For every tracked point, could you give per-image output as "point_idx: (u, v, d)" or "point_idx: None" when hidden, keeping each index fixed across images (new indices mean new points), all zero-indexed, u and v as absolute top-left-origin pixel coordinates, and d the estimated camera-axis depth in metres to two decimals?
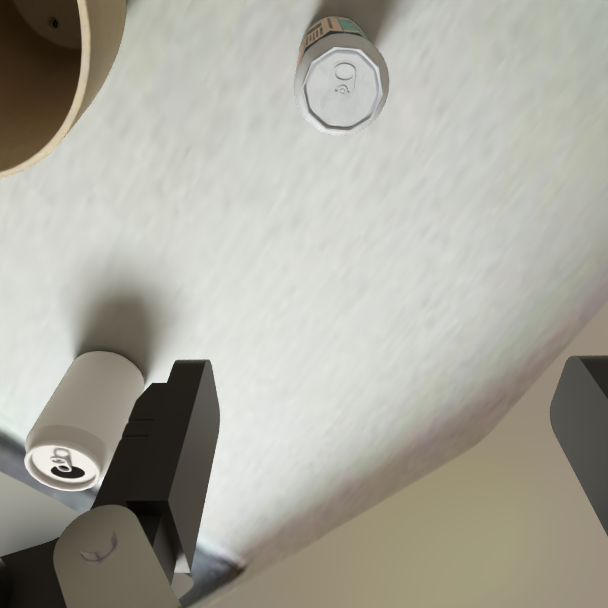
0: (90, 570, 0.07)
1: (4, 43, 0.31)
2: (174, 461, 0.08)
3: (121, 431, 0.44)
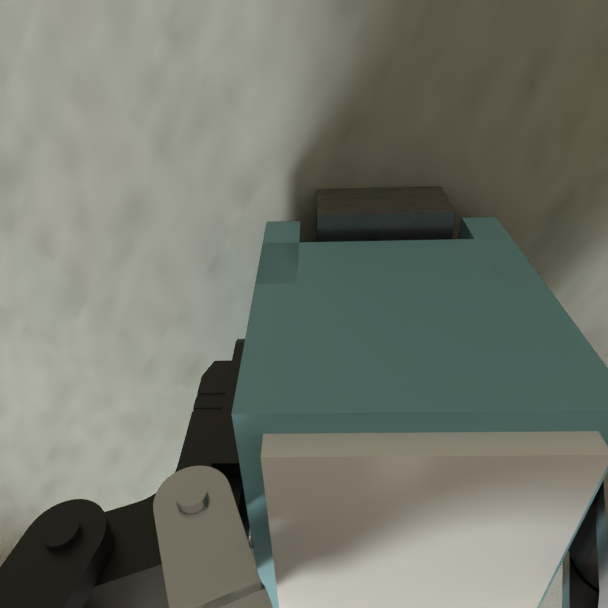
0: (190, 522, 0.07)
1: None
2: None
3: None
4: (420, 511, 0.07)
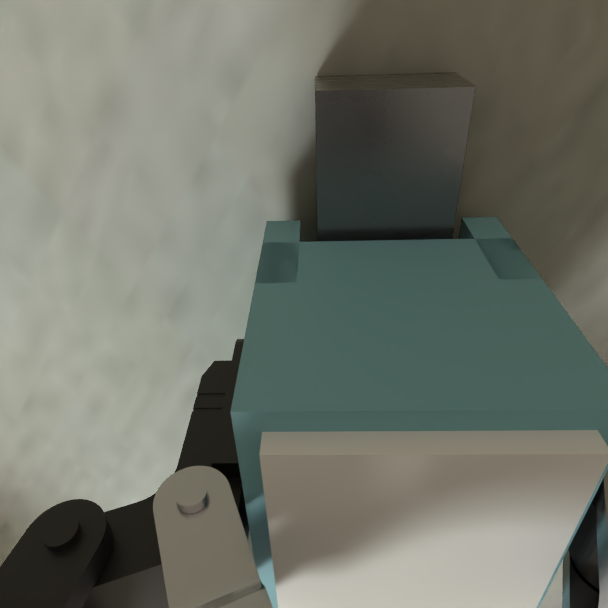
0: (189, 523, 0.07)
1: None
2: None
3: None
4: (420, 509, 0.07)
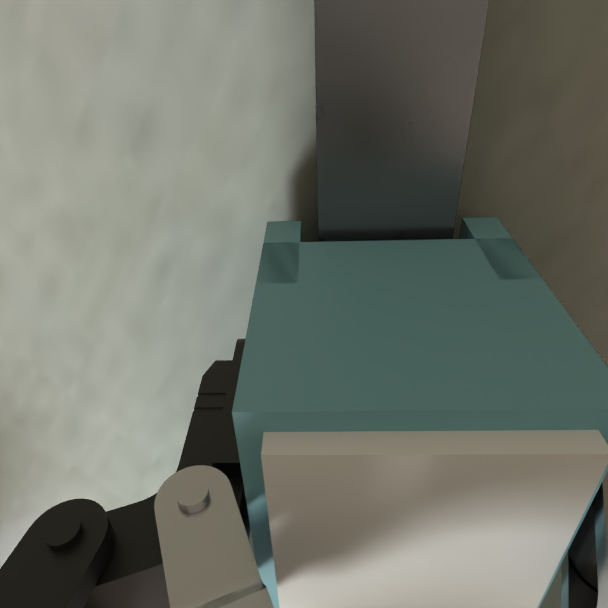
0: (191, 522, 0.07)
1: None
2: None
3: None
4: (420, 509, 0.07)
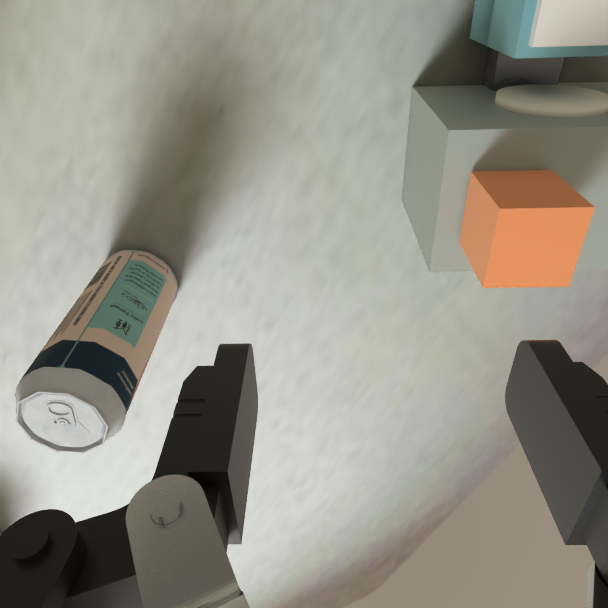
0: (162, 533, 0.07)
1: None
2: (229, 436, 0.09)
3: None
4: None
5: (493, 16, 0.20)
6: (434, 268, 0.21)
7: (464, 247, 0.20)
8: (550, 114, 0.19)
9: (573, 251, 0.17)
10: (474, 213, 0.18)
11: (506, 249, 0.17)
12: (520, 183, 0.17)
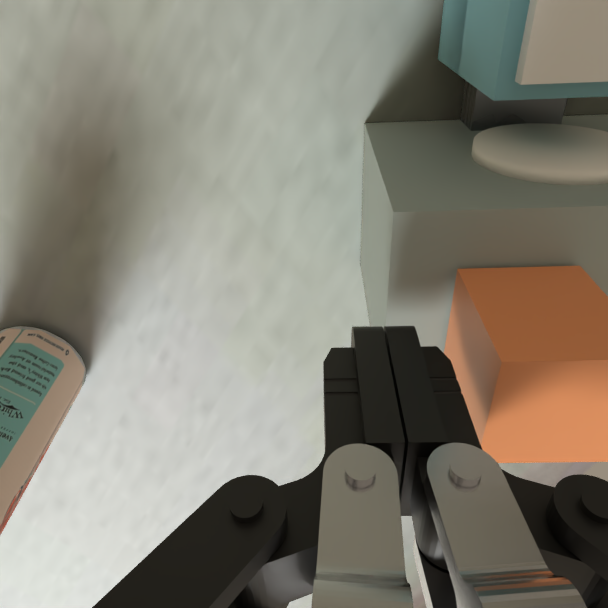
0: (365, 498, 0.08)
1: None
2: (394, 411, 0.09)
3: None
4: None
5: (465, 32, 0.13)
6: None
7: None
8: (551, 180, 0.13)
9: None
10: (463, 336, 0.12)
11: (513, 415, 0.10)
12: (533, 297, 0.11)
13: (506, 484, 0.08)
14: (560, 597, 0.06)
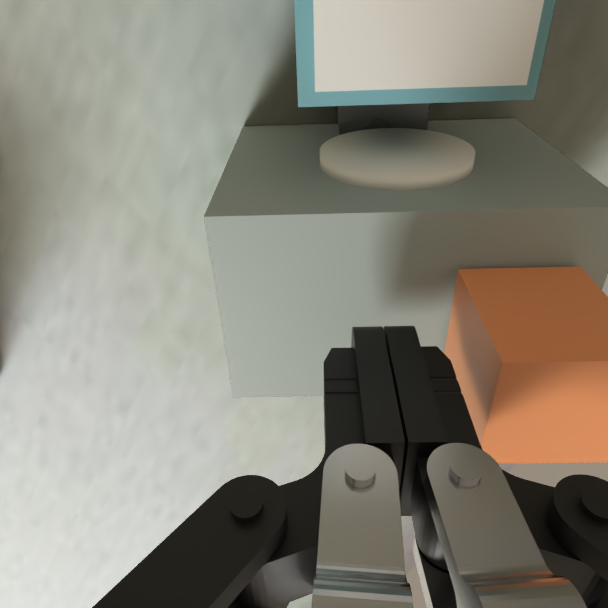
0: (365, 497, 0.08)
1: None
2: (394, 410, 0.09)
3: None
4: None
5: None
6: (238, 393, 0.15)
7: None
8: (374, 185, 0.13)
9: None
10: (463, 336, 0.12)
11: (514, 416, 0.10)
12: (534, 298, 0.11)
13: (506, 484, 0.08)
14: (560, 597, 0.06)
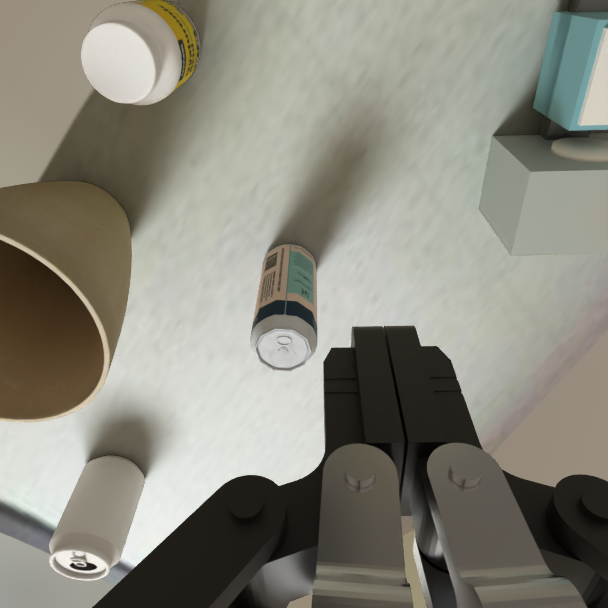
0: (365, 497, 0.08)
1: (40, 271, 0.41)
2: (394, 411, 0.09)
3: (126, 529, 0.55)
4: None
5: (552, 101, 0.33)
6: (514, 253, 0.34)
7: None
8: (588, 160, 0.32)
9: None
10: None
11: None
12: None
13: (506, 484, 0.08)
14: (560, 597, 0.06)
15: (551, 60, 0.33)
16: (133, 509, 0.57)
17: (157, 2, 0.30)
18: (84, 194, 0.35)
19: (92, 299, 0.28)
